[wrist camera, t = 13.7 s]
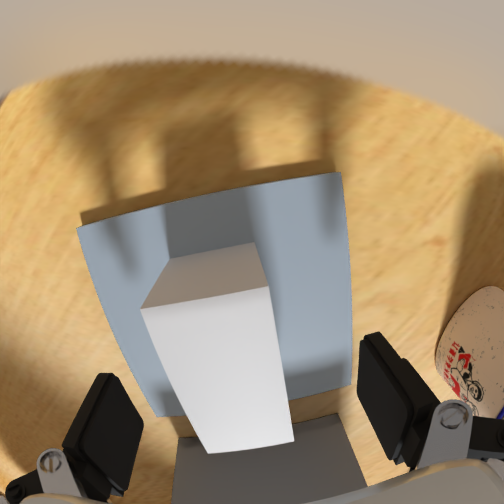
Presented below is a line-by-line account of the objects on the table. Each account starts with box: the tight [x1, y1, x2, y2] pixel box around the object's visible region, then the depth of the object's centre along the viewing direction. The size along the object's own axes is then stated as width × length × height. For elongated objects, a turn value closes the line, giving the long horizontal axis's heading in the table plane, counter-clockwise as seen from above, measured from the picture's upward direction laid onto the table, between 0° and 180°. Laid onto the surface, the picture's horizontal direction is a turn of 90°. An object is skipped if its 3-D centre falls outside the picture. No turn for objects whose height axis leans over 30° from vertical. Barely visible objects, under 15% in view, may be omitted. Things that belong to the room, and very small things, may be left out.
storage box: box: [171, 413, 368, 504], centre depth 16 cm, size 12×12×7 cm
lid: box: [76, 172, 352, 454], centre depth 12 cm, size 13×13×6 cm
